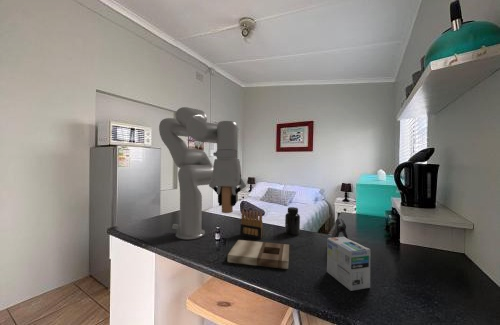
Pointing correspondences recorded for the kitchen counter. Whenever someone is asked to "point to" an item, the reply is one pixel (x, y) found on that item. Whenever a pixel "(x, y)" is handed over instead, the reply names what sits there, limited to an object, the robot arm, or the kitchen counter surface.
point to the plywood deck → (260, 254)
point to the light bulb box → (348, 263)
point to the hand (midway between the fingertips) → (227, 204)
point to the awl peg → (226, 200)
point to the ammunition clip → (251, 225)
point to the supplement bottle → (292, 222)
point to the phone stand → (339, 229)
